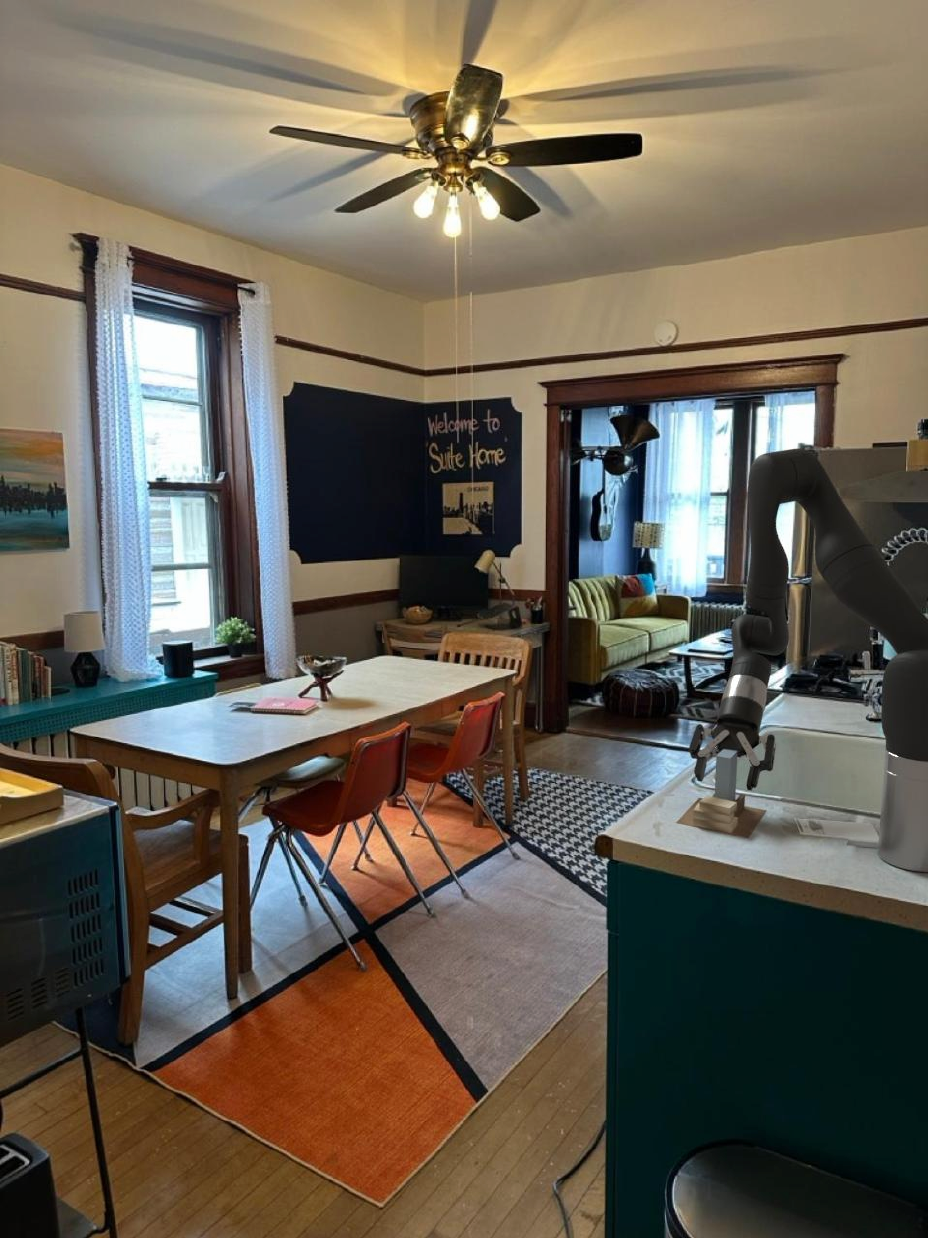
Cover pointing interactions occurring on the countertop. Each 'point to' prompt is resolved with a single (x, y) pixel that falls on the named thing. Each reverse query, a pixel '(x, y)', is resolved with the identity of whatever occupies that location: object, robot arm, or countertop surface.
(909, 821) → the robot arm
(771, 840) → the countertop surface
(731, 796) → the slate-blue block
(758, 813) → the walnut stand
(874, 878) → the countertop surface
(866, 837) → the external hard drive
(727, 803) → the birch offcut stack
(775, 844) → the countertop surface
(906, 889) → the countertop surface
